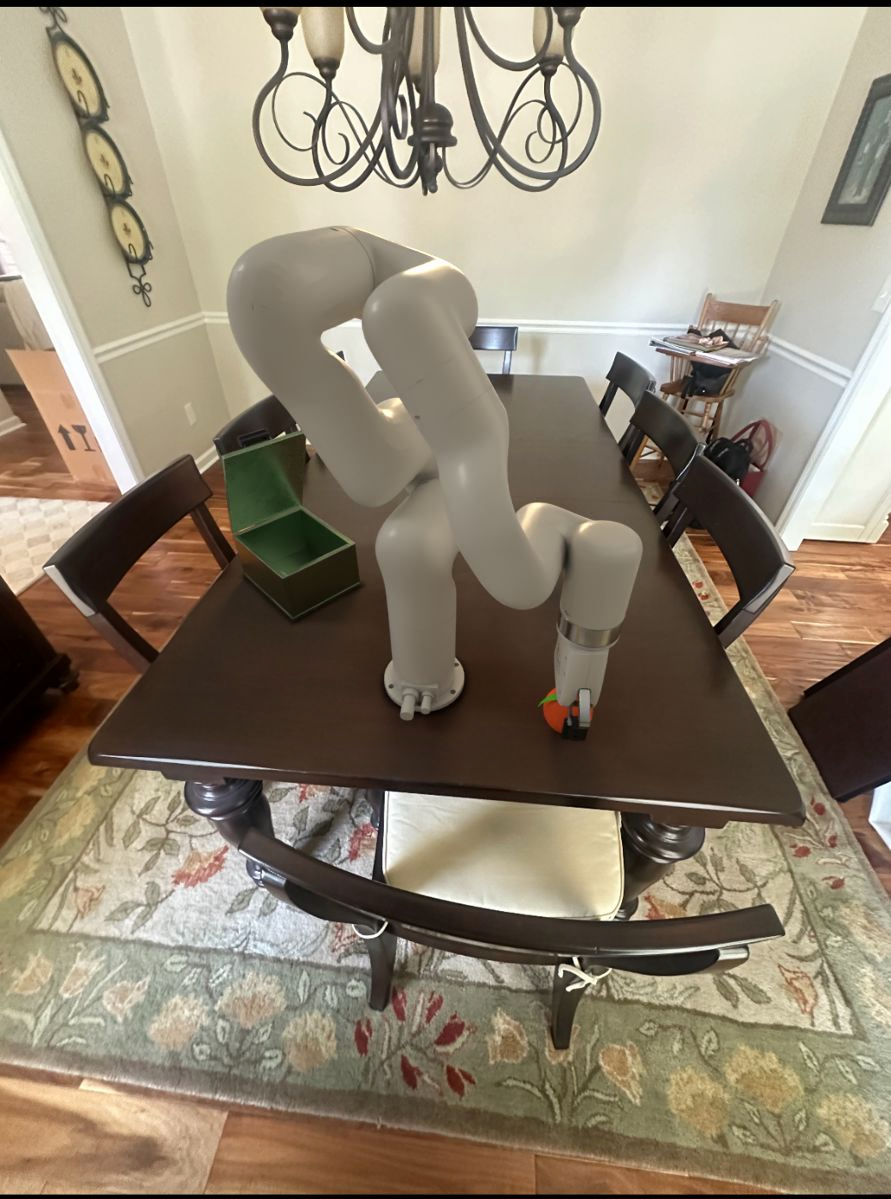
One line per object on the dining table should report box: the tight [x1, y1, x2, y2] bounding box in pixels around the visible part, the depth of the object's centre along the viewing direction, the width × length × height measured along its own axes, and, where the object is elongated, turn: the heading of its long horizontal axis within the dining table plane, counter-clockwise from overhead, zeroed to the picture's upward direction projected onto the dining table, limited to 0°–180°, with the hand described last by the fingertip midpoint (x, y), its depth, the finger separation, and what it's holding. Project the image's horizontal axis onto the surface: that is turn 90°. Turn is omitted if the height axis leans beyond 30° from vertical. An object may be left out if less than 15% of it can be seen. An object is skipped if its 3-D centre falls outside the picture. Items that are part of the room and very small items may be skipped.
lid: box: [221, 427, 307, 535], centre depth 91 cm, size 19×15×5 cm
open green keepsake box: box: [232, 505, 362, 623], centre depth 97 cm, size 18×15×10 cm
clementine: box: [537, 687, 594, 734], centre depth 73 cm, size 8×7×7 cm
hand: (570, 708), depth 73 cm, fingers open, 9 cm apart
